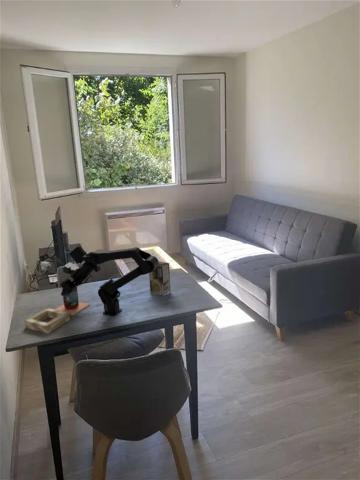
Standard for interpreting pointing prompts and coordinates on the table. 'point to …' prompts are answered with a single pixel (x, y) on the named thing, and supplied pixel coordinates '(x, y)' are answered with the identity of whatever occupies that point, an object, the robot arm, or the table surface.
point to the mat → (73, 311)
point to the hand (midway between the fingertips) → (67, 291)
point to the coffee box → (160, 279)
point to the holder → (57, 316)
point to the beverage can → (71, 300)
